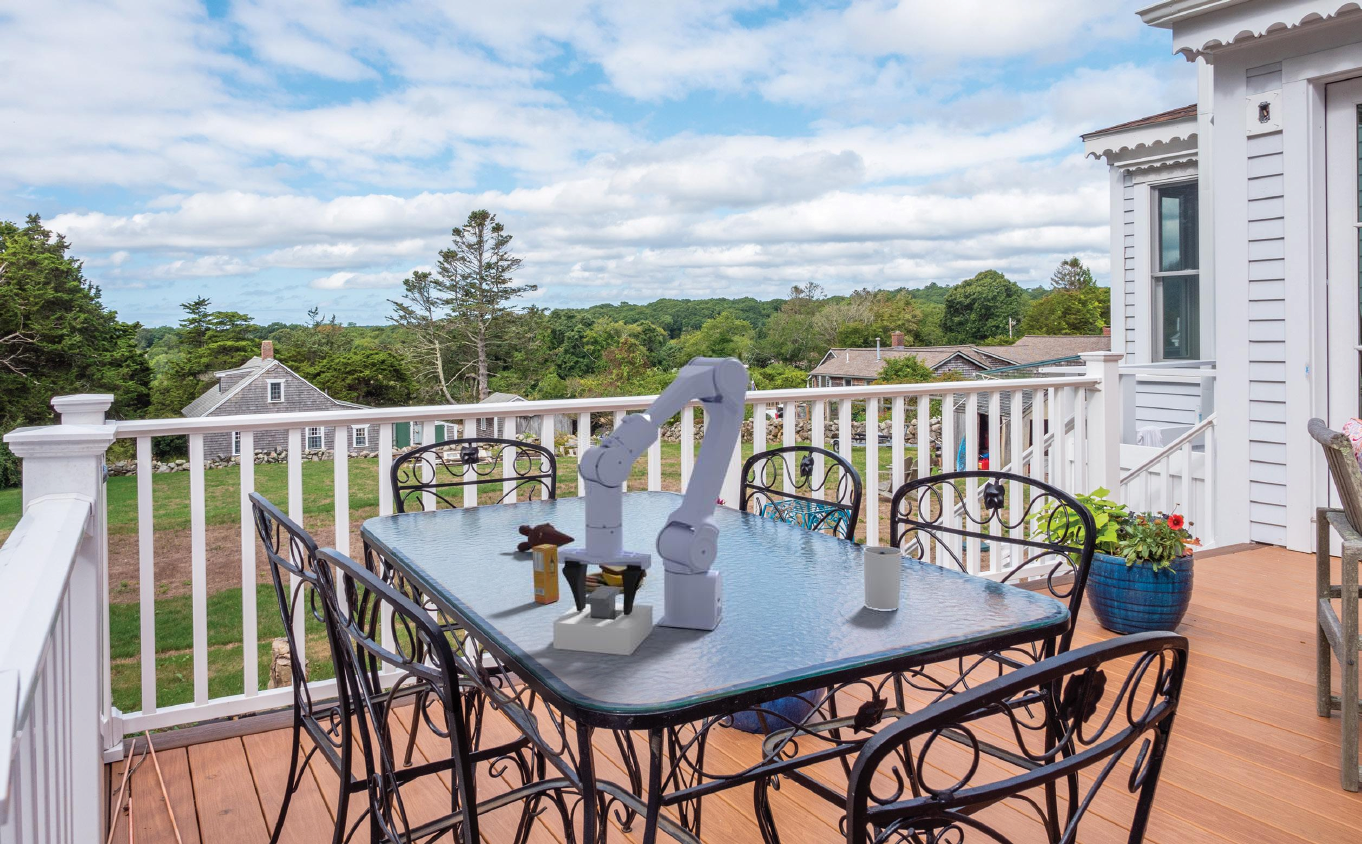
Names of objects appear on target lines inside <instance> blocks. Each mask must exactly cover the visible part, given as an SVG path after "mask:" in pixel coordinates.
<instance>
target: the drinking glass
mask: <svg viewBox="0 0 1362 844" xmlns="http://www.w3.org/2000/svg"><path fill="white" fill-rule="evenodd" d="M902 561H903V550H902V549H900V548H897V547H892V546H885V545H884V546H880V545H878V546H874V545H873V546H868V547H864V548H863V570H864V572H863V575H864V577H863V581H864V605H865V604H866V605H867V606H868V607H872V608H878V609H893V608H897V607H898V606H899V604H900V603H899V602H900V589H901V577H902V564H903V563H902ZM898 608H899V607H898Z"/></svg>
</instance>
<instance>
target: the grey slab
mask: <svg viewBox="0 0 1362 844" xmlns="http://www.w3.org/2000/svg"><path fill="white" fill-rule="evenodd" d="M619 594H620V593H619V587H614V586H600V587H599V588H598V589H596V590H595V591H594V592H592V591H591V593H590V594H589V595H586V604H590V617H591V618H598V619H609V620H615V603H616V597H617V596H618V595H619Z"/></svg>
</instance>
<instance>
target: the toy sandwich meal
mask: <svg viewBox="0 0 1362 844" xmlns="http://www.w3.org/2000/svg"><path fill="white" fill-rule="evenodd" d="M598 567H599V569H601V571H600V572H599V571H598V572H593V573H589V574H586V591H588V592H591V593H592V592H594V591H595V590H596V589H598V588H599V587H600V586H614V587H619V594H621V593H624V590H623V581H622V576H621V572H622V571H624V570H625V569H627V567H620V566H605V565H598ZM647 576H648V574H647V570H645V573H644V575H643V577H642V579H641V581H640V583H639V586H638V588H640V586H641V585H642V584H643V583H644V581H645V579H644V578H646V577H647Z"/></svg>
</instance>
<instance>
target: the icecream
mask: <svg viewBox="0 0 1362 844" xmlns="http://www.w3.org/2000/svg"><path fill="white" fill-rule="evenodd" d="M518 534H520V535H522V536H525V537H527V541H521V542H520V543H518V544H517V546H516V549H517V550H518V551H519V552H528V551H531V550H532V548H533V547H536V546H540V545H543V544H550V545H556V546H557V549H558V548H560V547H562V546H565V545H568V544H570V543H573V542H575V538H574V537H572V536H571V535H567V534H566V533H563V532H561V531H559V530H557V529H556V528H555V527H554V525H552V524H551V523H550V522H547V523H542V524H537V525H535V526H534V527H530V525H529V524H527V525H524V524H523V525H520V526H519V527H518Z"/></svg>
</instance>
